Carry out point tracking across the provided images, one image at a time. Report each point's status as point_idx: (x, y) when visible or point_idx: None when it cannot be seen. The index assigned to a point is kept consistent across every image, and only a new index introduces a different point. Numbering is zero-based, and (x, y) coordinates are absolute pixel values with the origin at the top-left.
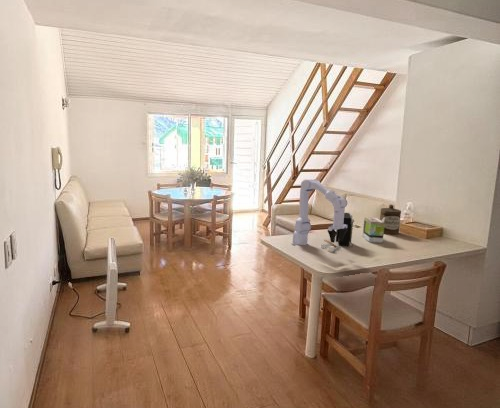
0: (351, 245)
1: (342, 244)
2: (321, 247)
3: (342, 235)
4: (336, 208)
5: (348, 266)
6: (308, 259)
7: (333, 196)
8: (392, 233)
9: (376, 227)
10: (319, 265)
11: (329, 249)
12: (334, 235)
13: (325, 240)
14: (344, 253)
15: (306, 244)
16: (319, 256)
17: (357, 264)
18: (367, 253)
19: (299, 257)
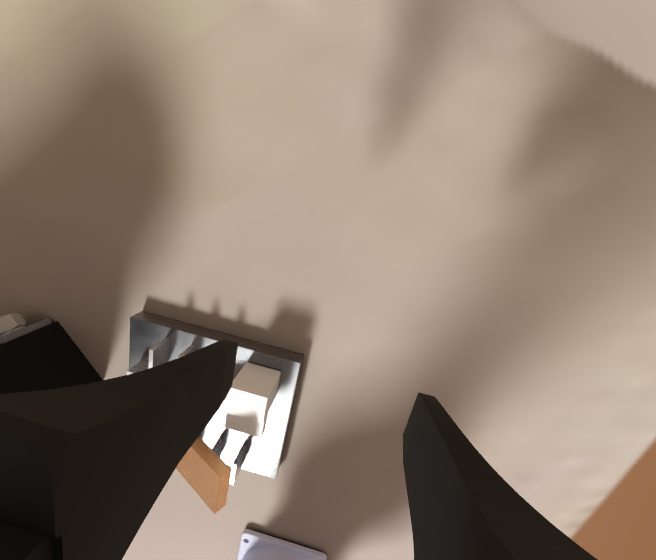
0: (9, 315)
1: (60, 374)
2: (242, 463)
3: (185, 396)
4: None
5: (492, 98)
6: (548, 433)
7: None
8: None
9: None
10: (650, 311)
11: (273, 398)
12: (518, 504)
13: (219, 500)
14: (184, 292)
15: (270, 555)
16: (410, 401)
17: (366, 61)
18: (19, 150)
19: (547, 495)
